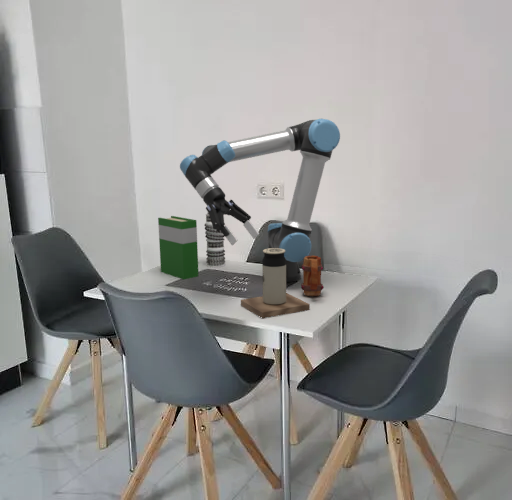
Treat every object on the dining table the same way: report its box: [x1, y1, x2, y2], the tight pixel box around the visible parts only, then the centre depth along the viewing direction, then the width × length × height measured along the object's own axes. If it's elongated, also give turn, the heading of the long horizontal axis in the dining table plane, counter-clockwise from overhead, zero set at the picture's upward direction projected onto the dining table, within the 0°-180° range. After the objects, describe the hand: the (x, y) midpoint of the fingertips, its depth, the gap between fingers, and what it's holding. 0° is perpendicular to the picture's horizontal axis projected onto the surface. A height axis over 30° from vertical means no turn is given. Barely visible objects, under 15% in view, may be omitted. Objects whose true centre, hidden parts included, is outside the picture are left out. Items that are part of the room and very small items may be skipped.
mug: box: [300, 255, 325, 297], centre depth 195 cm, size 15×8×15 cm, turn 178°
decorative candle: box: [204, 212, 226, 268], centre depth 245 cm, size 9×9×25 cm
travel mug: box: [261, 248, 287, 305], centre depth 183 cm, size 8×8×18 cm
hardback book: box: [157, 215, 199, 280], centre depth 230 cm, size 18×7×24 cm, turn 42°
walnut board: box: [240, 292, 311, 319], centre depth 185 cm, size 18×16×2 cm
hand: (246, 239), depth 187 cm, fingers open, 13 cm apart
